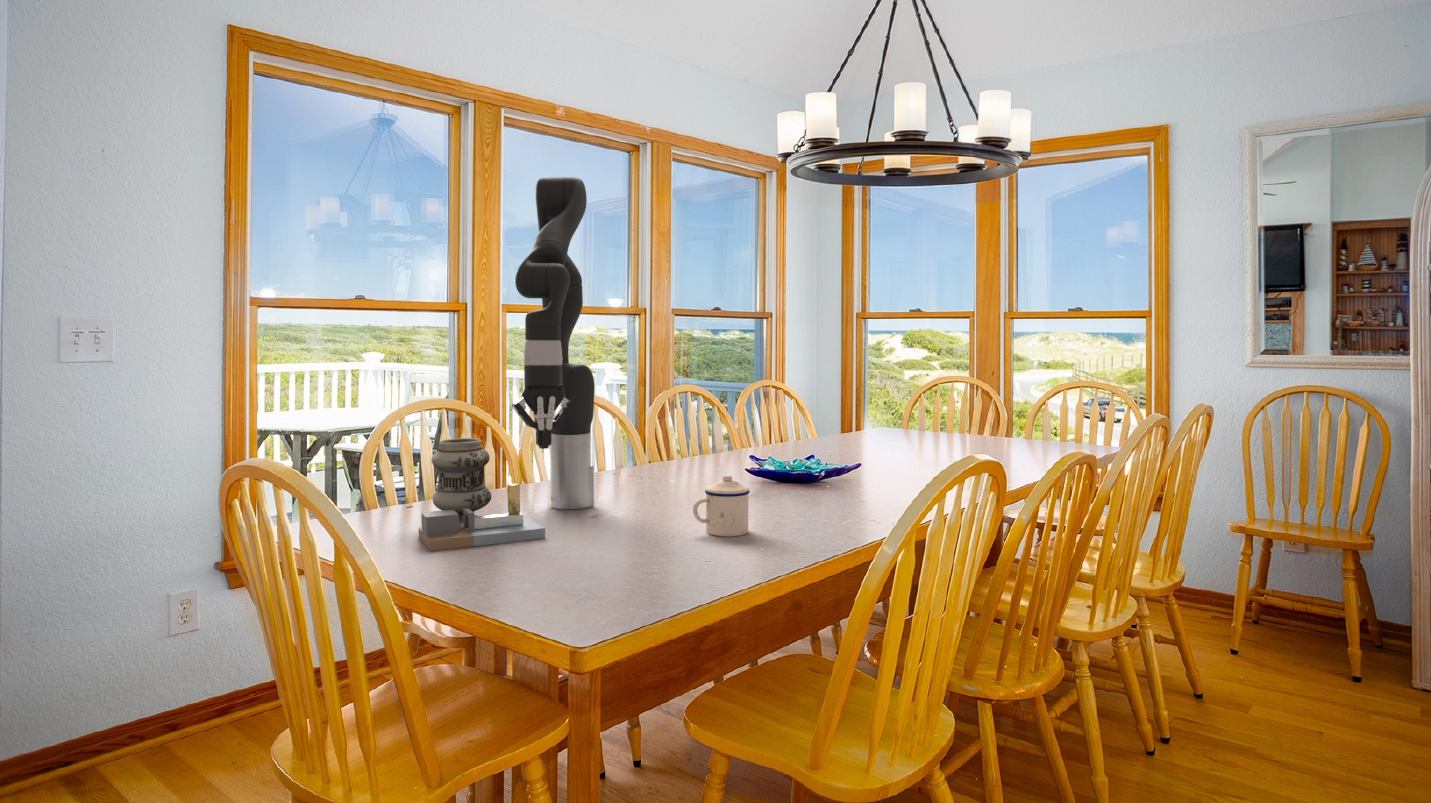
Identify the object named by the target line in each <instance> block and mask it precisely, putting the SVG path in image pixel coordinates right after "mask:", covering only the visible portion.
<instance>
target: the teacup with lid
mask: <svg viewBox="0 0 1431 803" xmlns="http://www.w3.org/2000/svg"><path fill="white" fill-rule="evenodd" d="M721 479H722V480H721ZM721 479H720V480H718V481H716V482H715V483H713V484H710V485H707V486H706V487H705V490H704V493H705V497H704V498H698V500H696V501H695V502H694V504H693V506H692V514H693V516H694V518H695V520H697V521H698V522H699V523H702V524H705V532H706V533H707V534H708V535H712V536H716V537H724V538H725V537H728V538H729V537H739V536H743V535H746V534H747V533H748V532H749V494H750V488H749V487H748V486H747V485H744V484H741V483H740V482H738V481H737V480H733V476H732V475H731V474H724V475H723V476H722V478H721ZM702 503H705V518H701V517H700V516H699V512H698V508H699V506H700V504H701V505H702Z"/></svg>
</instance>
